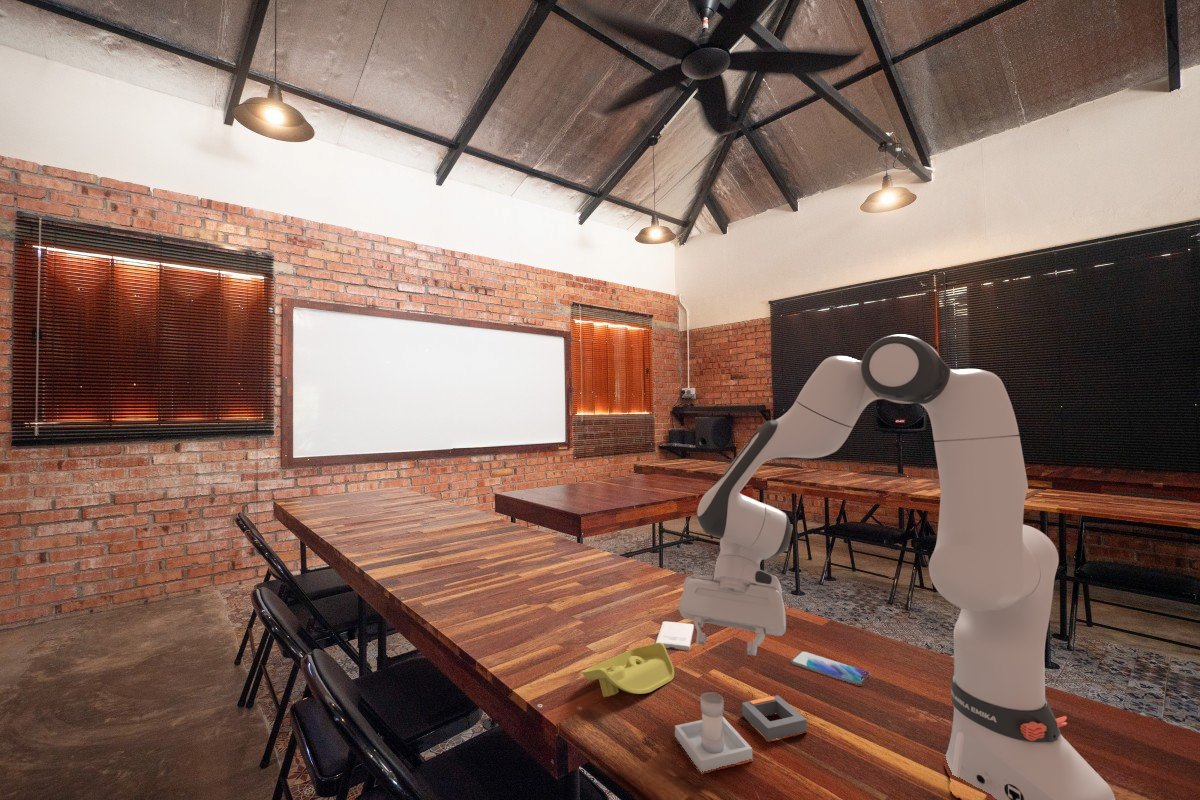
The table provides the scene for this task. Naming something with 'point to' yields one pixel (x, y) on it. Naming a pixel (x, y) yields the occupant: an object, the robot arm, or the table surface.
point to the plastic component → (633, 670)
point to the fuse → (712, 722)
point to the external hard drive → (676, 635)
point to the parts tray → (732, 753)
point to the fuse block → (777, 728)
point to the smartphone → (829, 667)
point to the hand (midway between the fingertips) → (725, 648)
